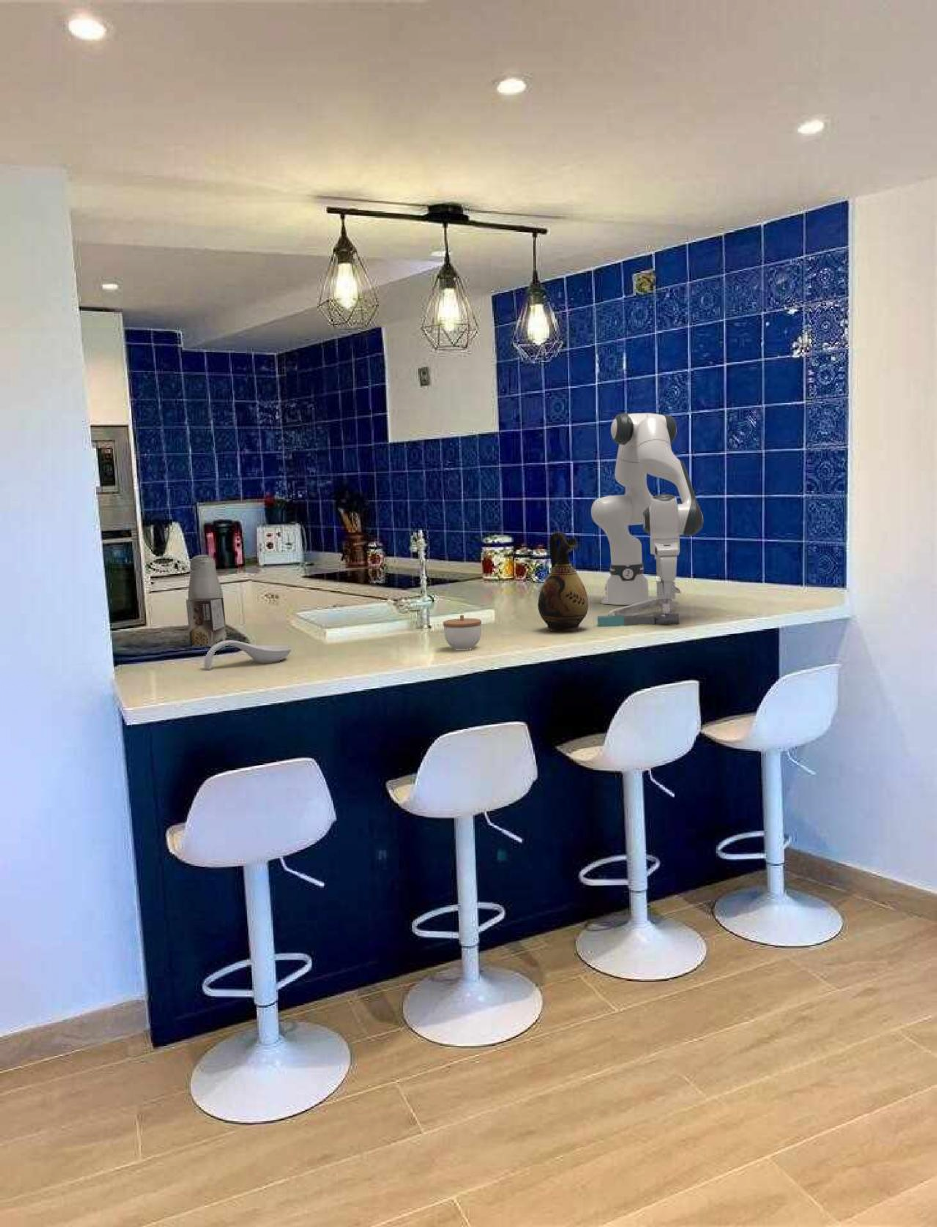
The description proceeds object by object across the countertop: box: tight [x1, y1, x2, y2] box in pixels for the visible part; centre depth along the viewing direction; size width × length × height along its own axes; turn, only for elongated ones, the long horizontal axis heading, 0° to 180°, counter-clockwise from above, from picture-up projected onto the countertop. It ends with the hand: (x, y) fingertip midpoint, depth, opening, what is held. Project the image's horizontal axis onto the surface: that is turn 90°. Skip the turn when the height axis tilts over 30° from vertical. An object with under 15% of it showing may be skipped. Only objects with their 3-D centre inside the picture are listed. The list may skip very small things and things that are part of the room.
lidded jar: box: [442, 614, 482, 650], centre depth 270 cm, size 11×11×9 cm
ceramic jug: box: [537, 530, 589, 633], centre depth 293 cm, size 17×15×30 cm
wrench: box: [607, 586, 682, 616], centre depth 318 cm, size 8×2×30 cm
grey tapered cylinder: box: [187, 554, 224, 601], centre depth 300 cm, size 10×10×28 cm
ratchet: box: [596, 604, 680, 627], centre depth 297 cm, size 8×25×6 cm, turn 85°
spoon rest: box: [203, 639, 292, 671], centre depth 262 cm, size 24×12×7 cm, turn 120°
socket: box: [656, 580, 676, 600], centre depth 296 cm, size 5×5×5 cm
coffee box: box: [185, 597, 228, 647], centre depth 283 cm, size 9×6×16 cm
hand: (666, 592), depth 296 cm, fingers closed on socket, 5 cm apart
